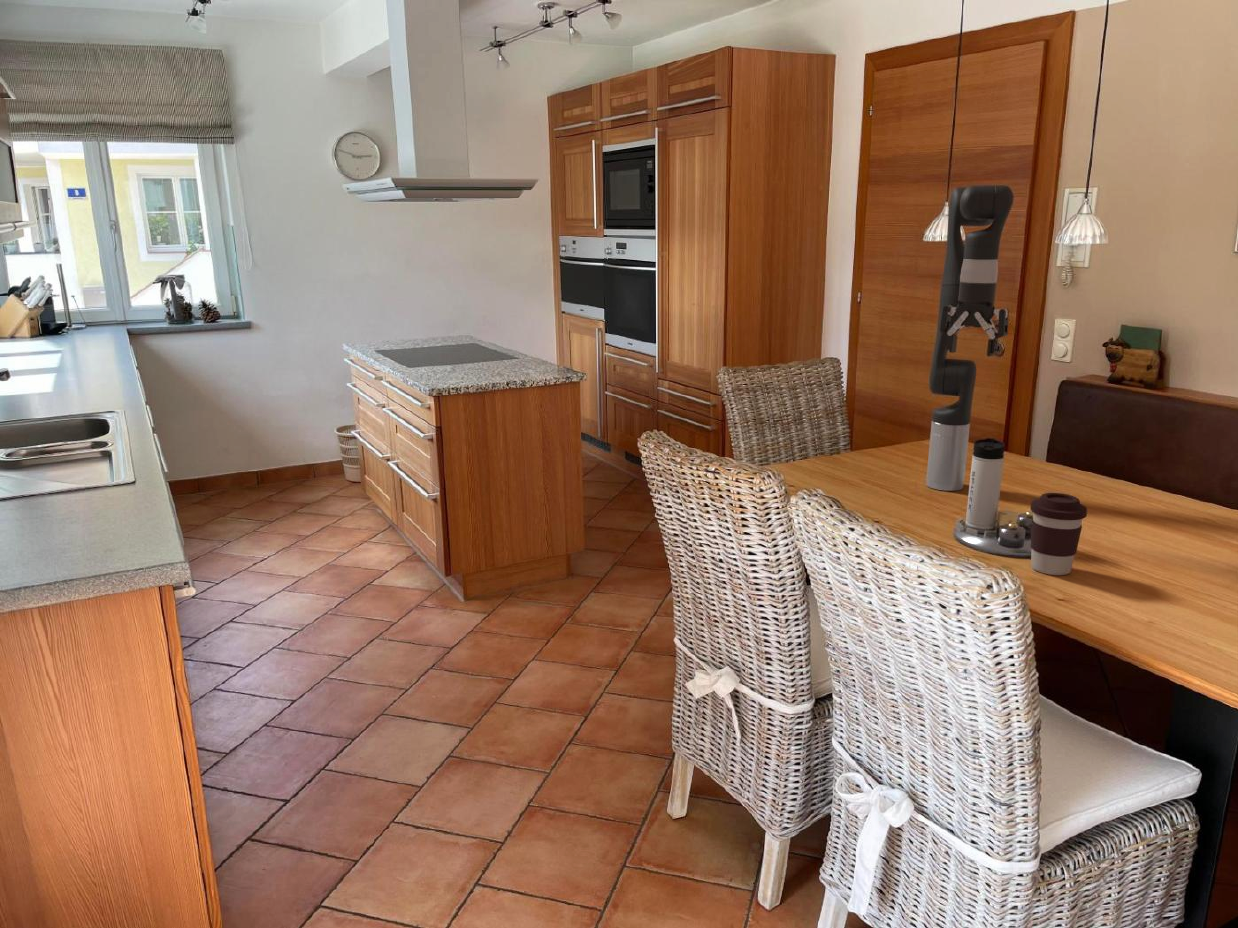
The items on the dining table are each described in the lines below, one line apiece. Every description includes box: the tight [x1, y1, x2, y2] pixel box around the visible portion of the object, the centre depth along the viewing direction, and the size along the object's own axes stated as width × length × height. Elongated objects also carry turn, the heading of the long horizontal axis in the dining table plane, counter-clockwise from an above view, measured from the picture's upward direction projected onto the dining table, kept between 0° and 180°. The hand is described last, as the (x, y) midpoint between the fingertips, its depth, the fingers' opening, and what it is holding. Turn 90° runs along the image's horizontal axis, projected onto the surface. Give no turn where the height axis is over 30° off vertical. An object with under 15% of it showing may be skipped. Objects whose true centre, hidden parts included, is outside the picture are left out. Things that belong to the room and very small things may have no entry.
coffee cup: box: [1030, 492, 1088, 576], centre depth 177 cm, size 10×10×15 cm
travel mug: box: [965, 437, 1006, 534], centre depth 196 cm, size 6×7×20 cm
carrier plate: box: [953, 509, 1033, 559], centre depth 195 cm, size 21×21×6 cm
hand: (970, 354), depth 202 cm, fingers open, 8 cm apart
